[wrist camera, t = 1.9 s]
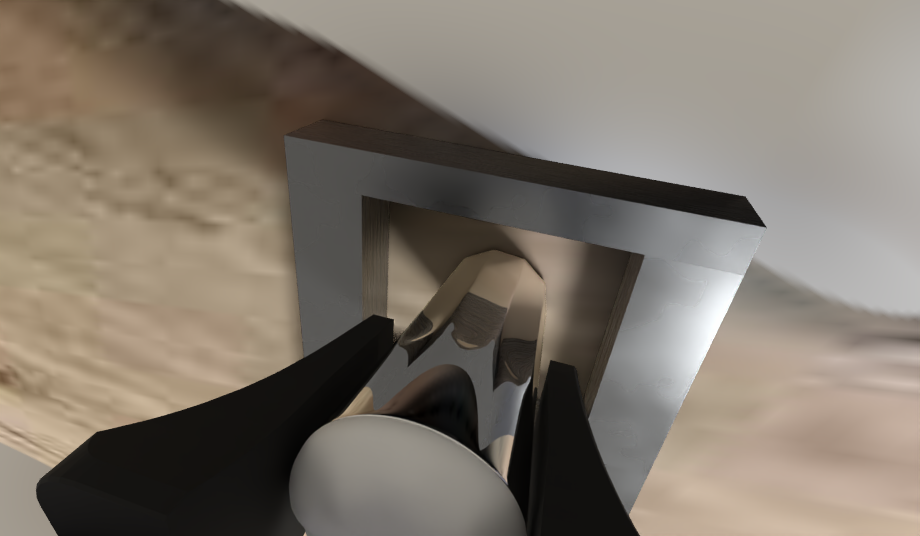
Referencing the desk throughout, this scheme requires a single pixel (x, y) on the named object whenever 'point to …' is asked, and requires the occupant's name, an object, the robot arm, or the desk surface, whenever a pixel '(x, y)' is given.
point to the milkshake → (437, 418)
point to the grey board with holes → (540, 210)
